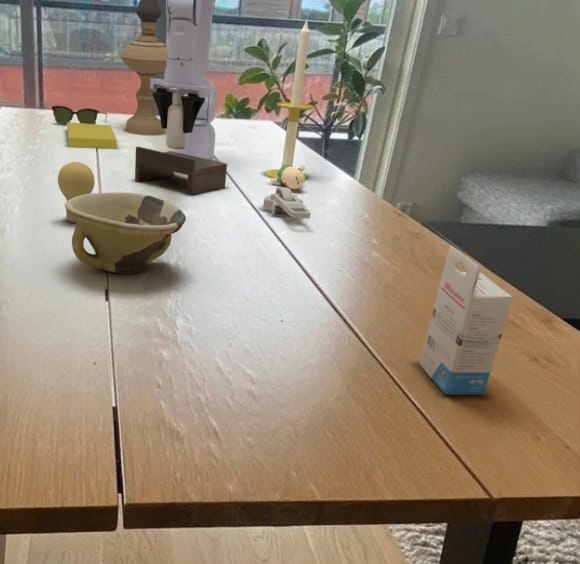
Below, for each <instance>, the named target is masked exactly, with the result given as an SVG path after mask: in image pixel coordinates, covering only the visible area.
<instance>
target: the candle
mask: <svg viewBox="0 0 580 564" xmlns="http://www.w3.org/2000/svg"><path fill="white" fill-rule="evenodd" d="M310 35H311V31H310V29H309V23H308V19H305V22H304V24H303V26H302V28H301V30H300V31H299V37H298V38H299V39H298V45H297V54H296V60H295V61H296V62H295V67H294V75H293V83H292V92H291V93H292V94H291V100H290V101H279V102H277V103H276V106H277V107H279V108H282V109H287V110H288V116H287V123H286V131H285V139H284V146H283V154H282V163H281V167H282V166H284V165H291V166H293V164H294V157H295V150H296V142H297V137H298V127H299V120H300V113H301V111H310V110H313V109H314V107H315V106H314V105H312V104H309V103H302V102H301V101H302V95H303V94H302V93H303V86H304V79H305V78H304V77H305V72H306V71H305V70H306V64H307V56H308V50H309V41H310ZM279 170H280V169H268V170H266V171H265V172H264V175H265V176H266V177H268V178H271V179H274V178H278V172H279ZM303 174H304V180H306V179H307V177H308V176H307V174H305V173H303Z"/></svg>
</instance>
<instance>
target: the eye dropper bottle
mask: <svg viewBox="0 0 580 564" xmlns="http://www.w3.org/2000/svg"><path fill="white" fill-rule="evenodd" d="M180 91H181V89H177V90H176V91H175V92H174V93H173V99H172V100H173V101H172V103H174V104H172V105H171V106H169V108H168V116H167V128H166V135H165V137H166V138H165V145H166V147H168V148H169V149H173V150H177V149H185V143H186V133H184V132H183V118H184V115H183V105H182V100H181V96H184V94H181V93H180Z"/></svg>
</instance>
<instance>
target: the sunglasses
mask: <svg viewBox="0 0 580 564" xmlns="http://www.w3.org/2000/svg"><path fill="white" fill-rule="evenodd" d="M51 111H52V115H53V117H54V120H55V122H56V124H58V125H59V126H60V125H61V126H67V122H71V121H72V119H73V117H74V115H76V119H77V121H78V123H84V124H96V121H97V119H98V115H99V114H102V115H105V119H107V117H108V113H106V112H103V111H99V110H98V109H94V108H89V107H88V108H81V109H79V110H77V111H76V110H75V111H74V110H73V109H72V108H70V107H67V106H64V105H52V106H51Z"/></svg>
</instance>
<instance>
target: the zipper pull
mask: <svg viewBox="0 0 580 564" xmlns="http://www.w3.org/2000/svg"><path fill="white" fill-rule="evenodd" d="M262 211H263V212H267V213H271V217H277V218H292V219H293V218H294V219H310V218H311V214H312V213H311V211H310V210H309V209H308V208H307V207H306V206H305V205H304V200H303V199H301V198H298V194H293V192H292V189H290V188H289V187H285V186H284V187H283V186H282V187H280V186H278V187H276V189H275V192H274V193H271V194H270V195H267V196H265V197H264V198H263V206H262Z"/></svg>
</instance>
